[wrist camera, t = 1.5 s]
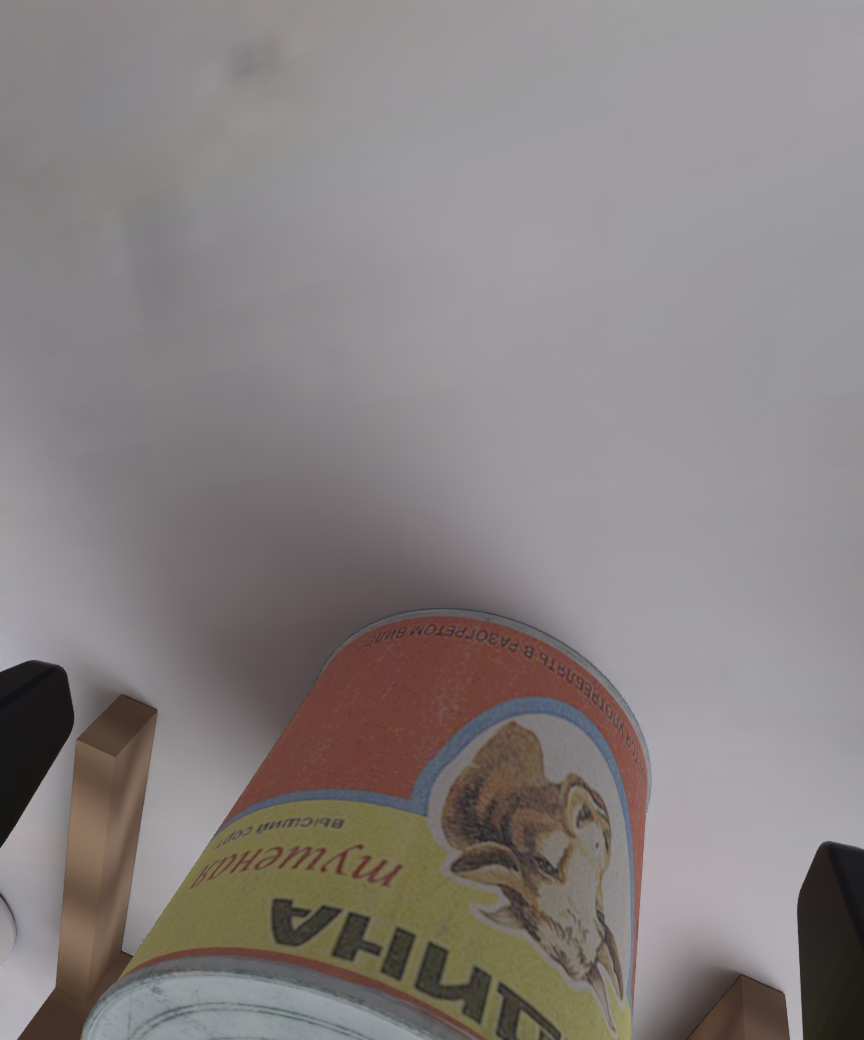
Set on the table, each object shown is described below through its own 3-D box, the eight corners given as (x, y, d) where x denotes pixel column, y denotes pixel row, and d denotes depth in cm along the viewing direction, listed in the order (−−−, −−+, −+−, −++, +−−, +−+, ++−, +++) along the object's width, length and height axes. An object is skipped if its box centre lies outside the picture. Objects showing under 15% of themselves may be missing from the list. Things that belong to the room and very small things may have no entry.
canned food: (733, 788, 24) (764, 1295, 14) (488, 929, 30) (379, 1363, 19) (449, 537, 23) (251, 877, 13) (252, 731, 29) (3, 1077, 18)
